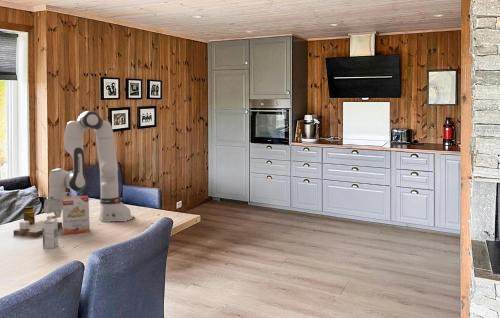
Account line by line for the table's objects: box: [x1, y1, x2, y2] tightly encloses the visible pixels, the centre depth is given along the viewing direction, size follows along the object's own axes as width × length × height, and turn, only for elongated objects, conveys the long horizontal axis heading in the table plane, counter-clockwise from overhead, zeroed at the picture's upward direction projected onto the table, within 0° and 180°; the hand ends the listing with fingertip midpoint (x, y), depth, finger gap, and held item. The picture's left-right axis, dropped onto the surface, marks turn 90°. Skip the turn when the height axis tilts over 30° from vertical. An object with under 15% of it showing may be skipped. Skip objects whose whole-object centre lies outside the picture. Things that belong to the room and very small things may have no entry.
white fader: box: [18, 220, 30, 229], centre depth 249 cm, size 4×3×4 cm
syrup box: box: [42, 218, 59, 250], centre depth 227 cm, size 6×6×14 cm
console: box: [13, 220, 63, 239], centre depth 256 cm, size 15×22×3 cm
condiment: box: [23, 205, 36, 225], centre depth 267 cm, size 7×8×12 cm
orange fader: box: [46, 215, 57, 219], centre depth 261 cm, size 4×3×4 cm
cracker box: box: [62, 195, 91, 235], centre depth 253 cm, size 14×6×21 cm, turn 117°
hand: (57, 217), depth 268 cm, fingers closed
